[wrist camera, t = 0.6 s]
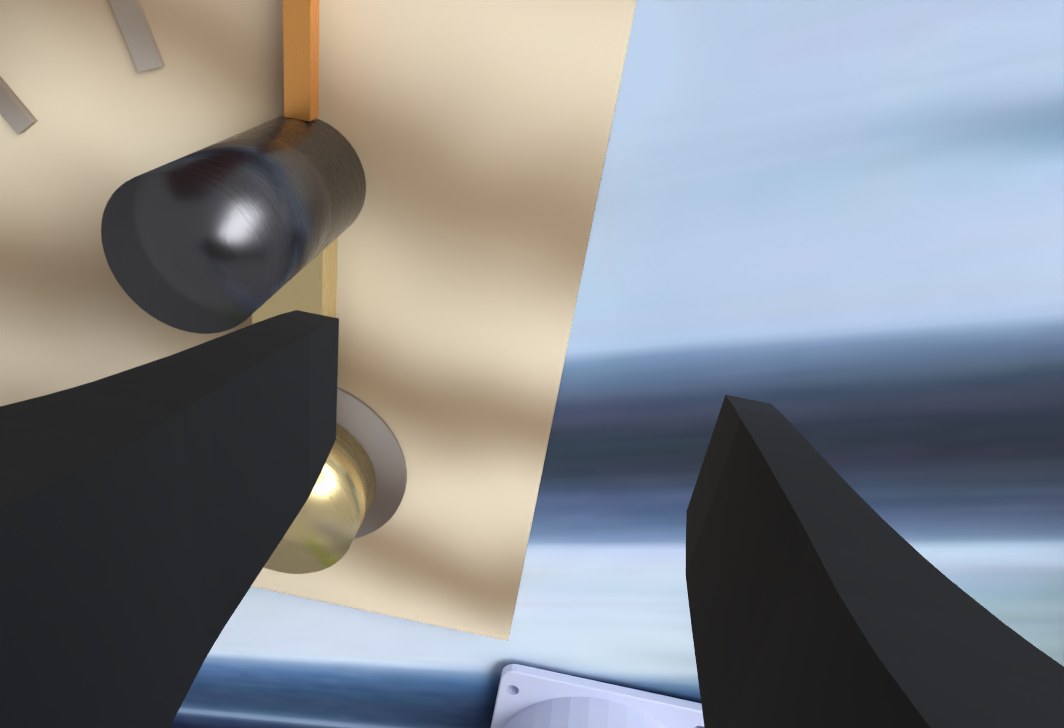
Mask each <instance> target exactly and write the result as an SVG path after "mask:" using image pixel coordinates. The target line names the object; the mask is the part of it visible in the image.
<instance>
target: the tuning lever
mask: <svg viewBox="0 0 1064 728" xmlns="http://www.w3.org/2000/svg"><path fill="white" fill-rule="evenodd" d="M319 7H320V0H283V49H284V116H280V117H277V118H274V119H272V120H269V121H267V122H265V123H262V124H260V125H258V126H255V127H253V128H250V129H248V130H246V131H243V132H241V133H239V134H236V135H234V136H231V137H229V138H227V139H224V140H222V141H220V142H217V143H215V144H212V145H210V146H208V147H205V148H203V149H201V150H198V151H196V152H193V153H191V154H189V155H186V156H184V157H182V158H179V159H177V160H174V161H172V162H170V163H167V164H165V165H162V166H160V167H158V168H155V169H153V170H151V171H148V172H146V173H143V174H141V175H139V176H136V177H134V178H132V179H130V180H128V181H126V182H125V183H124V184H122V185H121V186H120V187H119V188H117V190H116V191H115V192H114V193H113V194H112V195H111V197H110V199H109V200H108V202H107V204H106V207H105V209H104V212H103V217H102V222H101V239H102V245H103V250H104V254H105V257H106V260H107V263H108V265H109V267H110V269H111V271H112V273H113V275H114V277H115V278H116V280H117V282H118V283H119V285H120V286H121V287H122V289H123V290H124V291H125V293H126V294H127V295H128V296H129V297H130V298H131V299H132V300H133V301H134V302H135V303H136V304H137V305H138V306H139V307H140V308H141V309H143V310H144V311H145V312H147V313H148V314H149V315H151V316H152V317H154V318H156V319H157V320H159V321H161V322H163V323H165V324H167V325H169V326H171V327H174V328H176V329H179V330H183V331H187V332H192V333H199V334H212V333H219V332H223V331H227V330H230V329H232V328H234V327H236V326H238V325H240V324H241V323H243V322H244V321H245V320H246V319H247V318H248V317H250V316H251V315H252V324H255V323H257V322H260V321H263V320H265V319H268V318H271V317H274V316H277V315H280V314H283V313H287V312H291V311H295V310H299V311H304V312H309V313H314V314H319V315H324V316H329V317H334V318H336V292H337V250H338V236H339V235H341V234H342V233H343V232H344V231H345V230H346V229H347V228H348V227H349V226H351V225H352V224H353V222H354V221H355V220H356V219H357V217H358V216H359V214H360V212H361V210H362V207H363V205H364V201H365V195H366V180H365V173H364V170H363V166H362V164H361V161H360V159H359V157H358V155H357V153H356V151H355V149H354V148H353V147H352V145H351V144H350V142H349V141H348V140H347V139H346V138H345V137H344V136H343V135H342V134H341V133H340V132H339V131H338V130H337V129H335V128H334V127H332V126H331V125H329V124H328V123H326V122H324V121H322V120H320V119H317V118H318V113H319ZM375 492H376V475H375V470H374V467H373V464H372V461H371V459H370V457H369V455H368V454H367V452H366V451H365V449H364V448H363V446H362V445H361V444H360V443H359V442H358V440H357V439H356V438H355V437H354V436H353V435H352V434H350V433H349V432H348V431H347V430H345V429H344V428H343V427H341V426H340V425H338V424H337V423H336V441H335V443H334V445H333V447H332V449H331V452H330V454H329V456H328V458H327V460H326V463H325V465H324V467H323V469H322V472H321V474H320V476H319V478H318V480H317V482H316V484H315V486H314V488H313V490H312V492H311V494H310V496H309V498H308V499H307V501H306V503H305V504H304V506H303V507H302V509H301V511H300V512H299V514H298V515H297V517H296V518H295V520H294V521H293V523H292V524H291V526H290V528H289V529H288V531H287V532H286V534H285V535H284V537H283V538H282V540H281V541H280V543H279V544H278V546H277V548H276V549H275V551H274V552H273V554H272V555H271V557H270V558H269V560H268V561H267V563H266V564H265V566H264V568H266V569H269V570H273V571H277V572H282V573H290V574H307V573H313V572H318V571H321V570H324V569H326V568H329V567H331V566H332V565H334V564H335V563H337V562H338V561H339V560H340V559H342V558H343V556H344V555H345V554H346V553H347V551H348V549H349V547H350V546H351V544H352V542H353V540H354V538H355V536H356V534H357V532H358V530H359V528H360V526H361V523H362V521H363V519H364V517H365V515H366V513H367V511H368V509H369V507H370V505H371V503H372V501H373V499H374V496H375Z"/></svg>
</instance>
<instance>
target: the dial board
mask: <svg viewBox="0 0 1064 728" xmlns="http://www.w3.org/2000/svg"><path fill="white" fill-rule="evenodd" d="M636 1H637V0H320V7H319V113H318V118H317V119H320V120H322V121H324V122H326V123H328V124H329V125H331V126H332V127H334V128H335V129H337V130H338V131H339V132H340V133H341V134H342V135H343V136H344V137H345V138H346V139H347V140H348V141H349V142H350V144H351V145H352V147H353V148H354V149H355V151H356V153H357V155H358V157H359V159H360V161H361V164H362V166H363V170H364V173H365V180H366V195H365V201H364V205H363V207H362V210H361V212H360V214H359V216H358V217H357V219H356V220H355V221H354V222H353V224H352V225H351V226H349V227H348V228H347V229H346V230H345V231H344V232H343V233H342V234H341V235H339V236H338V250H337V292H336V318H339V341H338V379H337V418H336V423H337V424H338V425H340V426H341V427H343V428H344V429H345V430H347V431H348V432H349V433H350V434H352V435H353V436H354V437H355V438H356V439H357V440H358V442H359V443H360V444H361V445H362V446H363V448H364V449H365V451H366V452H367V454H368V455H369V457H370V459H371V461H372V464H373V467H374V470H375V475H376V492H375V496H374V499H373V501H372V503H371V505H370V507H369V509H368V511H367V513H366V515H365V517H364V519H363V521H362V523H361V526H360V528H359V530H358V532H357V534H356V536H355V538H354V540H353V542H352V544H351V546H350V547H349V549H348V551H347V553H346V554H345V555H344V556H343V558H342V559H340V560H339V561H338V562H337V563H335V564H334V565H332V566H331V567H329V568H326V569H324V570H321V571H318V572H313V573H307V574H290V573H282V572H277V571H273V570H269V569H266V568H264V567H263V569H262V570H261V572H260V573H259V575H258V576H257V578H256V579H255V581H254V582H253V584H252V585H251V586H253V587H257V588H262V589H267V590H271V591H276V592H281V593H285V594H290V595H295V596H299V597H304V598H309V599H314V600H318V601H323V602H328V603H332V604H337V605H342V606H346V607H351V608H356V609H361V610H365V611H370V612H375V613H379V614H384V615H389V616H393V617H398V618H403V619H407V620H412V621H417V622H422V623H426V624H431V625H436V626H440V627H445V628H450V629H454V630H459V631H464V632H469V633H473V634H478V635H483V636H487V637H492V638H497V639H501V640H506V641H508V639H509V634H510V629H511V624H512V619H513V614H514V609H515V604H516V599H517V594H518V589H519V584H520V579H521V574H522V569H523V564H524V559H525V554H526V549H527V544H528V540H529V535H530V530H531V525H532V520H533V515H534V510H535V505H536V500H537V495H538V490H539V485H540V480H541V475H542V470H543V465H544V460H545V455H546V450H547V445H548V440H549V435H550V430H551V425H552V420H553V415H554V410H555V405H556V400H557V395H558V390H559V385H560V380H561V375H562V370H563V365H564V360H565V355H566V350H567V345H568V340H569V335H570V330H571V325H572V320H573V315H574V310H575V305H576V300H577V295H578V290H579V285H580V280H581V275H582V270H583V265H584V260H585V255H586V250H587V245H588V241H589V236H590V231H591V226H592V221H593V216H594V211H595V206H596V201H597V196H598V191H599V186H600V181H601V176H602V171H603V166H604V161H605V156H606V151H607V146H608V141H609V136H610V131H611V126H612V121H613V116H614V111H615V106H616V101H617V96H618V91H619V86H620V81H621V76H622V71H623V66H624V61H625V56H626V51H627V46H628V41H629V36H630V31H631V26H632V21H633V16H634V11H635V6H636ZM280 116H284V49H283V0H0V406H4V405H8V404H12V403H16V402H20V401H24V400H28V399H32V398H36V397H40V396H44V395H48V394H52V393H55V392H59V391H62V390H66V389H69V388H73V387H76V386H80V385H83V384H86V383H90V382H93V381H96V380H99V379H102V378H105V377H108V376H111V375H114V374H117V373H120V372H123V371H126V370H129V369H132V368H135V367H138V366H141V365H144V364H147V363H150V362H152V361H155V360H158V359H161V358H164V357H167V356H170V355H173V354H176V353H178V352H181V351H184V350H186V349H189V348H191V347H194V346H197V345H199V344H202V343H205V342H207V341H210V340H213V339H215V338H218V337H220V336H223V335H226V334H228V333H231V332H234V331H236V330H239V329H241V328H244V327H247V326H249V325H252V315H251V316H250V317H248V318H247V319H246V320H245V321H244V322H243V323H241V324H240V325H238V326H236V327H234V328H232V329H230V330H227V331H223V332H219V333H212V334H199V333H192V332H187V331H183V330H179V329H176V328H174V327H171V326H169V325H167V324H165V323H163V322H161V321H159V320H157V319H156V318H154V317H152V316H151V315H149V314H148V313H147V312H145V311H144V310H143V309H141V308H140V307H139V306H138V305H137V304H136V303H135V302H134V301H133V300H132V299H131V298H130V297H129V296H128V295H127V294H126V293H125V291H124V290H123V289H122V287H121V286H120V285H119V283H118V282H117V280H116V278H115V277H114V275H113V273H112V271H111V269H110V267H109V265H108V263H107V260H106V257H105V254H104V250H103V245H102V239H101V222H102V217H103V212H104V209H105V207H106V204H107V202H108V200H109V199H110V197H111V195H112V194H113V193H114V192H115V191H116V190H117V188H119V187H120V186H121V185H122V184H124V183H125V182H126V181H128V180H130V179H132V178H134V177H136V176H139V175H141V174H143V173H146V172H148V171H151V170H153V169H155V168H158V167H160V166H162V165H165V164H167V163H170V162H172V161H174V160H177V159H179V158H182V157H184V156H186V155H189V154H191V153H193V152H196V151H198V150H201V149H203V148H205V147H208V146H210V145H212V144H215V143H217V142H220V141H222V140H224V139H227V138H229V137H231V136H234V135H236V134H239V133H241V132H243V131H246V130H248V129H250V128H253V127H255V126H258V125H260V124H262V123H265V122H267V121H269V120H272V119H274V118H277V117H280Z"/></svg>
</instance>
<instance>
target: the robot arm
mask: <svg viewBox="0 0 1064 728" xmlns="http://www.w3.org/2000/svg"><path fill="white" fill-rule="evenodd" d="M338 341H339V318H334V317H329V316H324V315H319V314H314V313H309V312H304V311H299V310H295V311H291V312H287V313H283V314H280V315H277V316H274V317H271V318H268V319H265V320H263V321H260V322H257V323H255V324H252V325H249V326H247V327H244V328H241V329H239V330H236V331H234V332H231V333H228V334H226V335H223V336H220V337H218V338H215V339H213V340H210V341H207V342H205V343H202V344H199V345H197V346H194V347H191V348H189V349H186V350H184V351H181V352H178V353H176V354H173V355H170V356H167V357H164V358H161V359H158V360H155V361H152V362H150V363H147V364H144V365H141V366H138V367H135V368H132V369H129V370H126V371H123V372H120V373H117V374H114V375H111V376H108V377H105V378H102V379H99V380H96V381H93V382H90V383H86V384H83V385H80V386H76V387H73V388H69V389H66V390H62V391H59V392H55V393H52V394H48V395H44V396H40V397H36V398H32V399H28V400H24V401H20V402H16V403H12V404H8V405H4V406H0V728H169V727H170V725H171V723H172V721H173V719H174V718H175V716H176V714H177V712H178V710H179V708H180V706H181V704H182V702H183V700H184V698H185V696H186V694H187V693H188V691H189V689H190V687H191V685H192V683H193V681H194V679H195V677H196V675H197V673H198V671H199V670H200V668H201V666H202V664H203V662H204V660H205V658H206V656H207V655H208V653H209V651H210V650H211V648H212V646H213V645H214V643H215V641H216V640H217V638H218V636H219V635H220V633H221V631H222V630H223V628H224V626H225V625H226V623H227V622H228V620H229V619H230V617H231V616H232V614H233V613H234V611H235V610H236V608H237V607H238V605H239V604H240V602H241V600H242V599H243V597H244V596H245V594H246V593H247V591H248V590H249V588H250V587H251V585H252V584H253V582H254V581H255V579H256V578H257V576H258V575H259V573H260V572H261V570H262V569H263V567H264V566H265V564H266V563H267V561H268V560H269V558H270V557H271V555H272V554H273V552H274V551H275V549H276V548H277V546H278V544H279V543H280V541H281V540H282V538H283V537H284V535H285V534H286V532H287V531H288V529H289V528H290V526H291V524H292V523H293V521H294V520H295V518H296V517H297V515H298V514H299V512H300V511H301V509H302V507H303V506H304V504H305V503H306V501H307V499H308V498H309V496H310V494H311V492H312V490H313V488H314V486H315V484H316V482H317V480H318V478H319V476H320V474H321V472H322V469H323V467H324V465H325V463H326V460H327V458H328V456H329V454H330V452H331V449H332V447H333V445H334V443H335V441H336V418H337V379H338ZM686 581H687V591H688V599H689V608H690V616H691V624H692V633H693V641H694V648H695V656H696V664H697V672H698V680H699V688H700V696H701V703H697V702H692V701H688V700H683V699H678V698H674V697H669V696H664V695H660V694H655V693H650V692H645V691H641V690H636V689H631V688H627V687H622V686H617V685H613V684H608V683H603V682H599V681H594V680H589V679H585V678H580V677H575V676H571V675H566V674H561V673H557V672H552V671H547V670H543V669H538V668H533V667H529V666H524V665H519V664H509V665H506V666H505V667H504V668H503V670H502V674H501V679H500V684H499V689H498V694H497V698H496V703H495V708H494V713H493V718H492V723H491V728H1064V667H1063V666H1062V665H1060V664H1059V663H1058V662H1056V661H1055V660H1053V659H1052V658H1050V657H1049V656H1048V655H1046V654H1045V653H1043V652H1042V651H1040V650H1039V649H1038V648H1036V647H1035V646H1034V645H1032V644H1031V643H1029V642H1028V641H1027V640H1025V639H1024V638H1023V637H1021V636H1020V635H1019V634H1017V633H1016V632H1015V631H1013V630H1012V629H1011V628H1009V627H1008V626H1007V625H1005V624H1004V623H1003V622H1001V621H1000V620H999V619H998V618H996V617H995V616H994V615H993V614H991V613H990V612H989V611H988V610H986V609H985V608H984V607H983V606H982V605H980V604H979V603H978V602H977V601H975V600H974V599H973V598H972V597H970V596H969V595H968V594H967V593H965V592H964V591H963V590H962V589H960V588H959V587H958V586H957V585H955V584H954V583H953V582H952V581H950V580H949V579H948V578H947V577H946V576H945V575H943V574H942V573H941V572H940V571H939V570H938V569H936V568H935V567H934V566H933V565H932V564H931V563H930V562H928V561H927V560H926V559H925V558H924V557H923V556H922V555H921V554H919V553H918V552H917V551H916V550H915V549H914V548H913V547H912V546H911V545H910V544H909V543H908V542H907V541H906V540H904V539H903V538H902V537H901V536H900V535H899V534H898V533H897V532H896V531H895V530H894V529H893V528H892V527H890V526H889V525H888V524H887V523H886V522H885V521H884V520H883V519H882V518H881V517H880V516H879V515H878V514H877V513H876V512H875V511H874V510H873V509H872V508H871V507H870V506H869V505H868V504H867V503H866V502H865V501H864V500H863V499H862V498H861V497H860V496H859V495H858V494H857V493H856V492H855V491H854V490H853V489H852V488H851V487H850V486H849V485H848V484H847V483H846V482H845V481H844V480H843V478H842V477H841V476H840V475H839V474H838V473H837V472H836V471H835V470H834V469H833V468H832V467H831V466H830V465H829V464H828V463H827V462H826V460H825V459H824V458H823V457H822V456H821V455H820V454H819V453H818V452H817V451H816V450H815V449H814V448H813V446H812V445H811V444H810V443H809V442H808V441H807V440H806V439H805V438H804V437H803V436H802V435H801V434H800V432H799V431H798V430H797V429H796V428H795V427H794V426H793V425H792V424H791V423H790V422H789V421H788V420H787V419H786V418H785V417H784V416H783V415H782V414H781V413H780V412H779V411H778V410H777V409H776V408H775V407H774V406H773V405H771V404H769V403H764V402H759V401H754V400H749V399H744V398H739V397H733V396H728V395H725V398H724V401H723V404H722V407H721V410H720V413H719V416H718V419H717V422H716V425H715V428H714V431H713V434H712V437H711V440H710V443H709V446H708V449H707V452H706V455H705V458H704V461H703V464H702V467H701V470H700V473H699V476H698V479H697V482H696V485H695V488H694V491H693V494H692V497H691V500H690V503H689V506H688V509H687V523H686Z"/></svg>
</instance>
